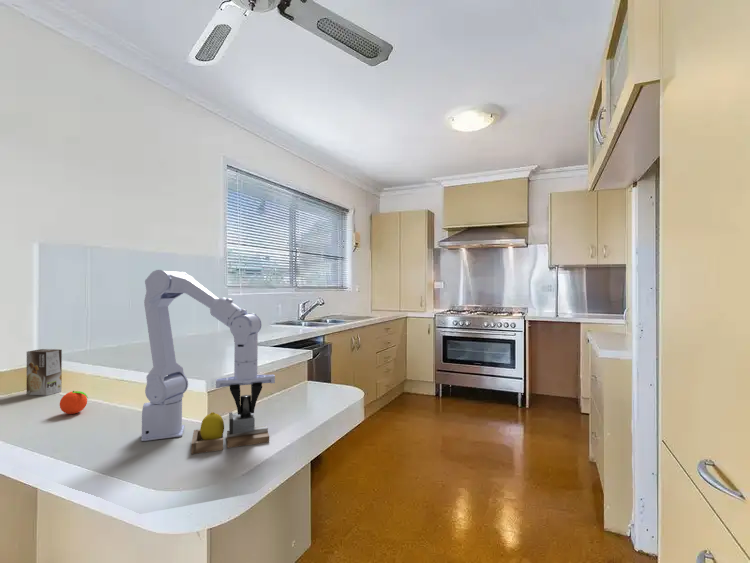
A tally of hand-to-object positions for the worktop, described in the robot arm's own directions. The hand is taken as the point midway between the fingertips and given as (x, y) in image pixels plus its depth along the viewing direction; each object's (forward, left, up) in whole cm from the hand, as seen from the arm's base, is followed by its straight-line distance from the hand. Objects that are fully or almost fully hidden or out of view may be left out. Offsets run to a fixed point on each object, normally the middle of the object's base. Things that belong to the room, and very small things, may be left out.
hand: (245, 412), depth 102 cm
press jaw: (-1, 0, -4) cm, 4 cm away
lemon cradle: (-8, 0, -7) cm, 11 cm away
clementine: (-48, +42, -7) cm, 65 cm away
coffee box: (-67, +75, -7) cm, 101 cm away
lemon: (-8, 0, -7) cm, 11 cm away
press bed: (+1, 0, -7) cm, 7 cm away
